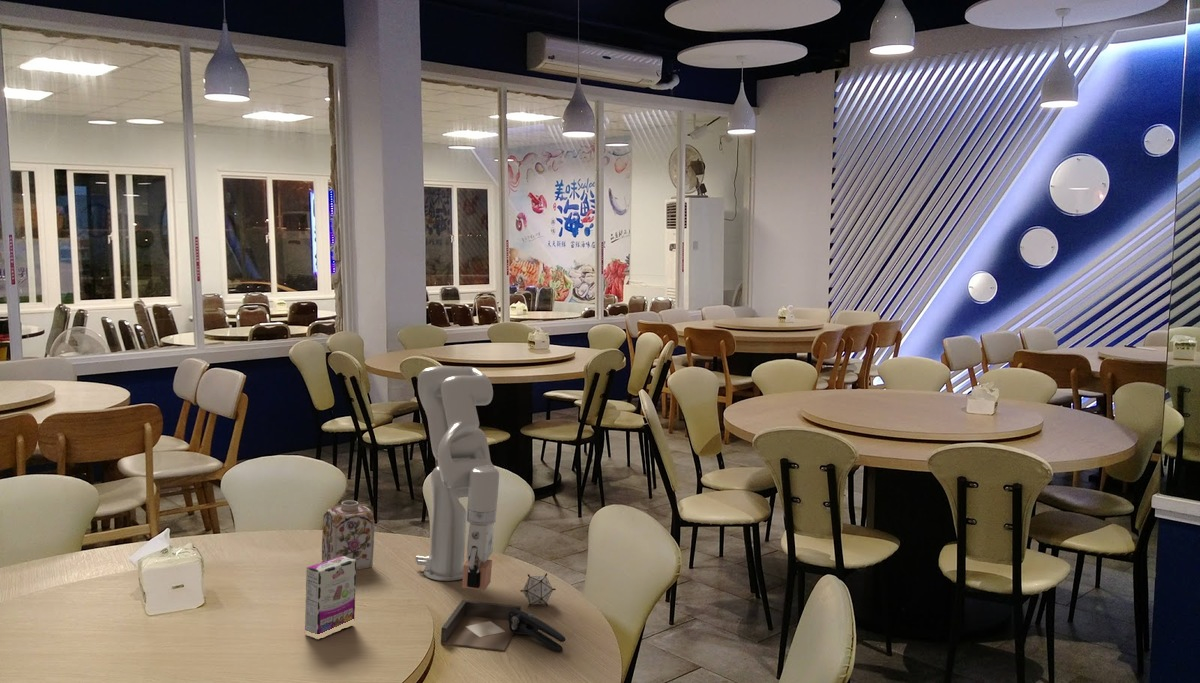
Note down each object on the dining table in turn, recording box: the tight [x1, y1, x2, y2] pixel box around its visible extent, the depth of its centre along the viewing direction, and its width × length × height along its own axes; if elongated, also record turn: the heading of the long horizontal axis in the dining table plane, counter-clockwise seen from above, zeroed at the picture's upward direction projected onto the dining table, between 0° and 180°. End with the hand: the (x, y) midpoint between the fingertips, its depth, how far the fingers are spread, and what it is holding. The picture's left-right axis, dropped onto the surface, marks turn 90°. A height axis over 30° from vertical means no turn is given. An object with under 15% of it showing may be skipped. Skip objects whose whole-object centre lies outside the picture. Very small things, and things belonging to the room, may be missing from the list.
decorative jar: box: [321, 500, 375, 570], centre depth 254 cm, size 12×12×18 cm
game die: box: [519, 572, 557, 608], centre depth 234 cm, size 9×8×10 cm
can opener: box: [508, 608, 566, 652], centre depth 212 cm, size 18×7×6 cm, turn 48°
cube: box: [461, 558, 493, 592], centre depth 231 cm, size 6×6×6 cm
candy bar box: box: [304, 556, 357, 634], centre depth 209 cm, size 11×5×16 cm, turn 148°
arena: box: [440, 599, 522, 652], centre depth 214 cm, size 15×18×4 cm
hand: (476, 581), depth 231 cm, fingers closed on cube, 5 cm apart
